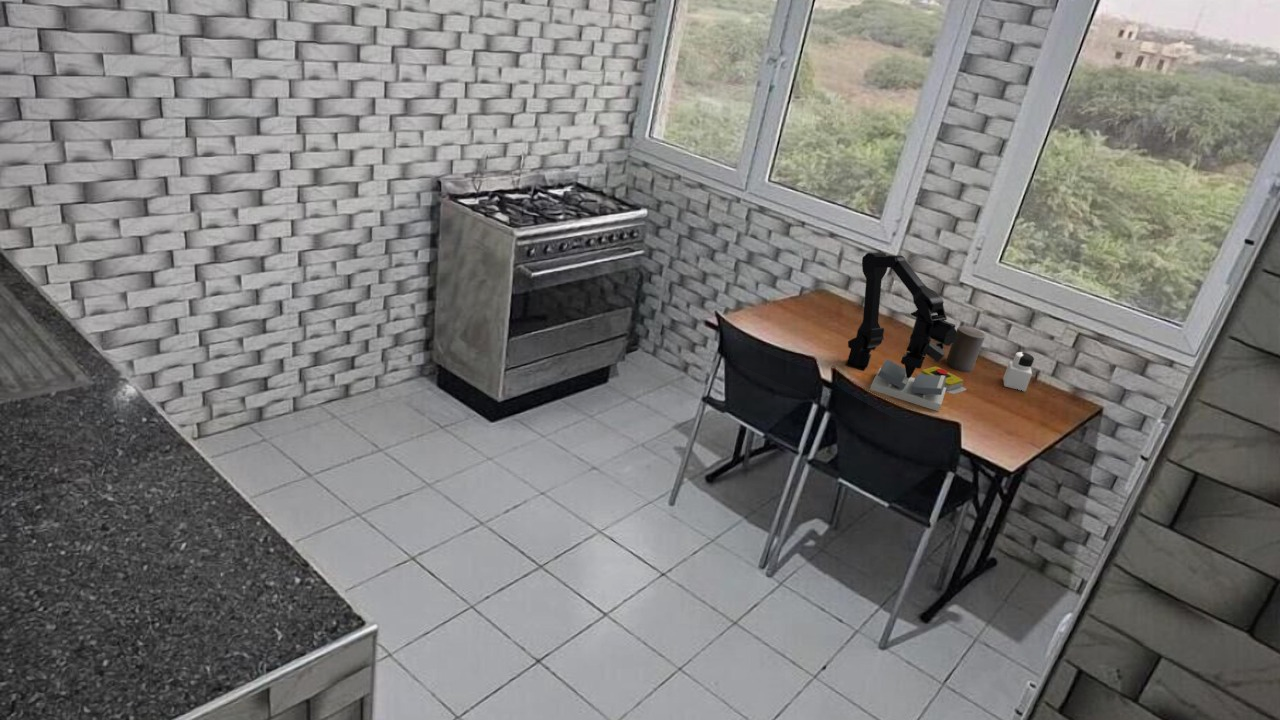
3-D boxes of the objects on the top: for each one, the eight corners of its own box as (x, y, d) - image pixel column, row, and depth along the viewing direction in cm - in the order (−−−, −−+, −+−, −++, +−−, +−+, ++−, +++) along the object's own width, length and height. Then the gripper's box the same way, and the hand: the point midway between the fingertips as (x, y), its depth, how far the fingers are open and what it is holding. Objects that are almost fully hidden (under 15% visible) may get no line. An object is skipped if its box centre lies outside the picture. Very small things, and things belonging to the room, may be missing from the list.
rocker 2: (911, 392, 267) (911, 386, 266) (916, 379, 277) (916, 373, 276) (941, 394, 263) (941, 388, 262) (945, 381, 273) (945, 375, 273)
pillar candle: (943, 366, 301) (957, 328, 294) (947, 357, 309) (960, 320, 303) (971, 374, 297) (985, 336, 291) (974, 365, 306) (988, 328, 299)
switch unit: (870, 389, 272) (873, 379, 270) (878, 374, 285) (881, 364, 283) (938, 411, 265) (942, 400, 263) (944, 394, 277) (947, 384, 276)
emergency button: (933, 361, 293) (971, 379, 283) (930, 372, 295) (967, 391, 284) (918, 365, 287) (955, 384, 277) (914, 376, 289) (951, 395, 279)
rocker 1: (877, 375, 270) (880, 369, 269) (884, 363, 280) (887, 357, 279) (902, 389, 268) (906, 384, 267) (908, 377, 278) (911, 371, 277)
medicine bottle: (1023, 384, 296) (1035, 353, 292) (1025, 392, 290) (1037, 360, 285) (1002, 378, 298) (1014, 348, 293) (1003, 386, 292) (1015, 355, 287)
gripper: (944, 349, 255) (930, 395, 261) (950, 331, 271) (937, 375, 277) (907, 339, 259) (894, 384, 265) (915, 322, 274) (903, 365, 281)
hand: (908, 377), depth 272 cm, fingers closed, pressing on rocker 1
